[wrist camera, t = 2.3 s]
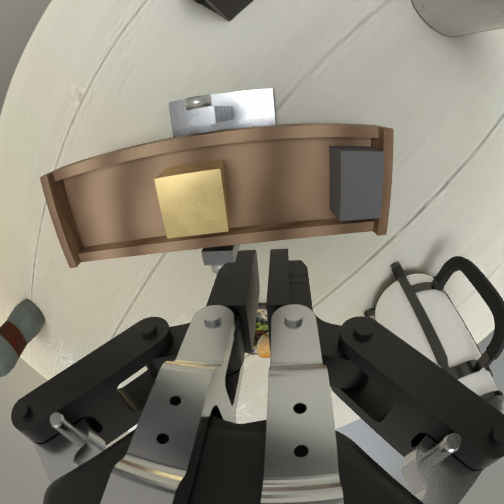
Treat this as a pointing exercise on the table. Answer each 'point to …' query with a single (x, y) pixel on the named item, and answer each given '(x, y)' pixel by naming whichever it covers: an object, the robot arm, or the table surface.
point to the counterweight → (356, 182)
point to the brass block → (193, 199)
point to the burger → (261, 333)
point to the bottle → (18, 333)
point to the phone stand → (224, 6)
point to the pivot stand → (221, 118)
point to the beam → (237, 183)
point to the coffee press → (444, 324)
